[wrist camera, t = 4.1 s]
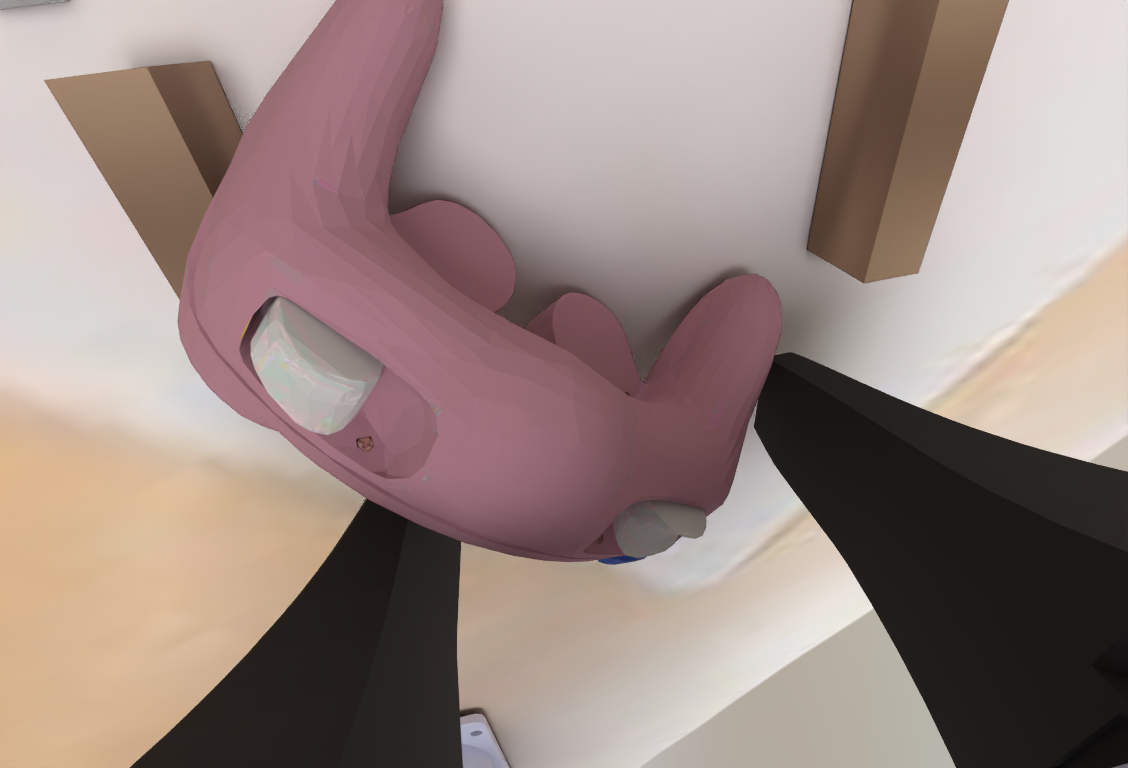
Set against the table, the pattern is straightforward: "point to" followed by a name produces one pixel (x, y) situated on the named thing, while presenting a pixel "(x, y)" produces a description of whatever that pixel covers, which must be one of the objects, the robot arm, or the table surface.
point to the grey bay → (25, 3)
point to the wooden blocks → (847, 185)
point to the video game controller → (448, 331)
